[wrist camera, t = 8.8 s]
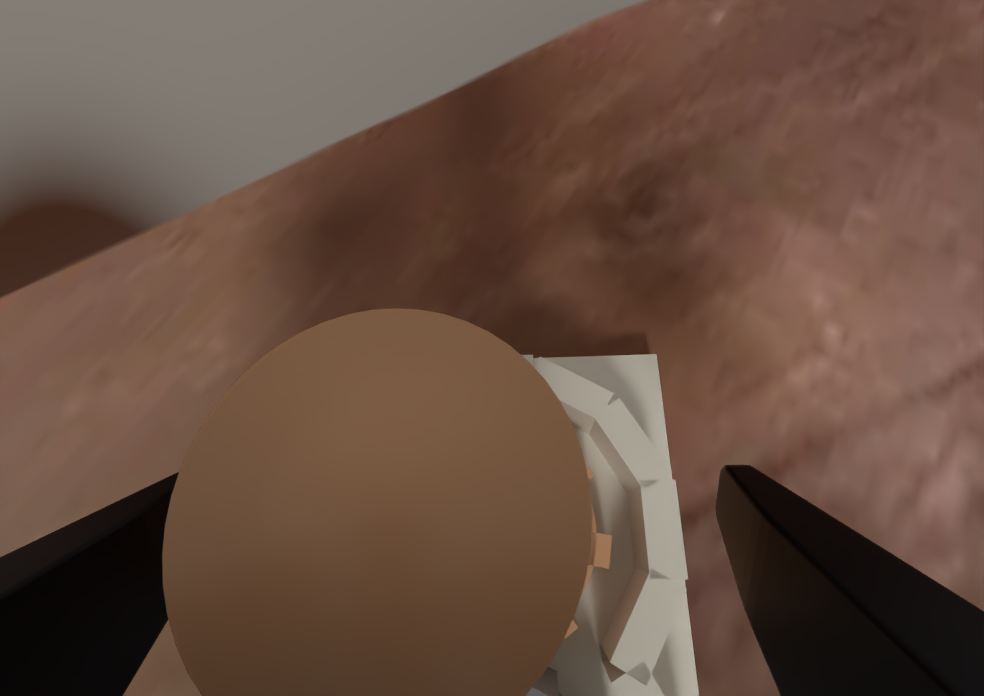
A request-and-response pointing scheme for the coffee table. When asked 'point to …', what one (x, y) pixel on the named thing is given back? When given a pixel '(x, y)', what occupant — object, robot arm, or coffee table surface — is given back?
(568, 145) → the coffee table surface
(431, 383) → the knob on notched ring
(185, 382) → the coffee table surface
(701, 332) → the coffee table surface
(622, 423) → the housing
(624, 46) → the coffee table surface
